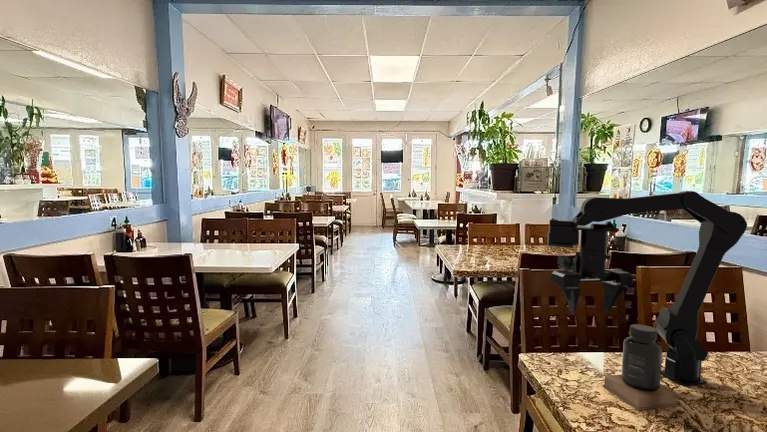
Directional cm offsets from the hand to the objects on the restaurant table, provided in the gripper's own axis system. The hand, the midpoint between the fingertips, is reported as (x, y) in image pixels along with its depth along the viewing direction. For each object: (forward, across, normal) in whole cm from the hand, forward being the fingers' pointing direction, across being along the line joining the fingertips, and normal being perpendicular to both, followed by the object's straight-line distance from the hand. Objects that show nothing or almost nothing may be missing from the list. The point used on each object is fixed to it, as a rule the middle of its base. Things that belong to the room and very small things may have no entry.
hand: (589, 312), depth 97 cm
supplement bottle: (+11, -1, +15) cm, 18 cm away
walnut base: (+13, 0, +15) cm, 20 cm away
